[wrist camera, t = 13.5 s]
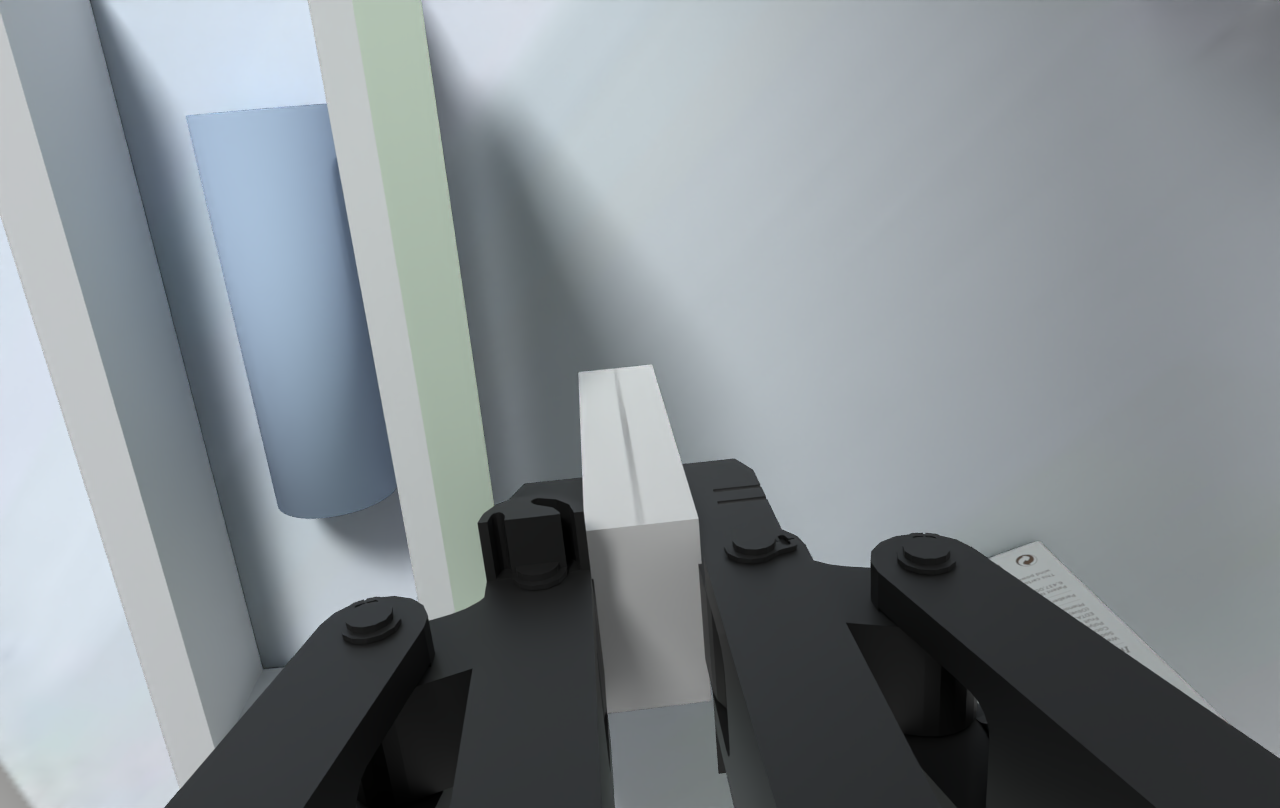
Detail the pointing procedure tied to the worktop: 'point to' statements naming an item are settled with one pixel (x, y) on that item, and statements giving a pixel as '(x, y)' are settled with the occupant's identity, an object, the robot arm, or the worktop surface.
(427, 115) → the cover
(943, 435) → the worktop surface
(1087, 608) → the skincare box
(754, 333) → the worktop surface
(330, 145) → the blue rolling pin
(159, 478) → the white u-shaped channel
